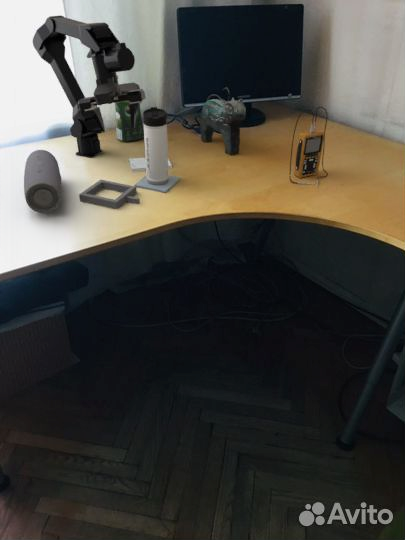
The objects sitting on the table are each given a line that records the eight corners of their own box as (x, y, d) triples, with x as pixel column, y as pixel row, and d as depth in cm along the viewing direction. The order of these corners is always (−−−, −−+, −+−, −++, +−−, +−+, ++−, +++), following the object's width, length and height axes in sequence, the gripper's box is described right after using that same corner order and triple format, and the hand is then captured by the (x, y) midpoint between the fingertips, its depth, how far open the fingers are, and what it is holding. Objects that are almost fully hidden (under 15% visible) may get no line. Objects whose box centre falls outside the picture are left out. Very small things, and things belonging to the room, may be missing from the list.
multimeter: (303, 190, 130) (315, 120, 119) (283, 177, 137) (291, 109, 126) (343, 181, 136) (357, 113, 124) (321, 169, 143) (333, 103, 131)
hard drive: (131, 168, 139) (172, 164, 141) (128, 158, 145) (167, 155, 148) (132, 173, 140) (172, 170, 142) (128, 163, 146) (167, 159, 149)
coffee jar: (137, 133, 168) (134, 79, 157) (147, 139, 162) (144, 84, 151) (113, 137, 164) (107, 82, 153) (121, 144, 158) (116, 88, 147)
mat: (134, 186, 131) (134, 184, 130) (150, 173, 138) (150, 171, 138) (165, 192, 127) (165, 191, 127) (180, 179, 135) (180, 177, 135)
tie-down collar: (80, 201, 123) (79, 194, 121) (101, 186, 131) (100, 179, 129) (129, 212, 118) (128, 205, 117) (148, 195, 126) (147, 188, 125)
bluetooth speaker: (66, 215, 116) (60, 178, 110) (28, 220, 114) (19, 183, 108) (62, 179, 134) (56, 146, 128) (28, 182, 132) (21, 149, 126)
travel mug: (167, 175, 136) (165, 106, 124) (169, 184, 130) (167, 113, 119) (146, 176, 135) (142, 107, 123) (147, 185, 130) (143, 114, 118)
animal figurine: (244, 154, 152) (249, 92, 140) (229, 158, 149) (232, 95, 137) (209, 137, 165) (211, 78, 154) (195, 140, 162) (195, 81, 150)
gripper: (64, 81, 123) (80, 140, 130) (131, 70, 120) (143, 131, 127) (78, 77, 133) (92, 132, 139) (140, 67, 130) (151, 123, 137)
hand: (118, 130), depth 135 cm, fingers open, 9 cm apart
